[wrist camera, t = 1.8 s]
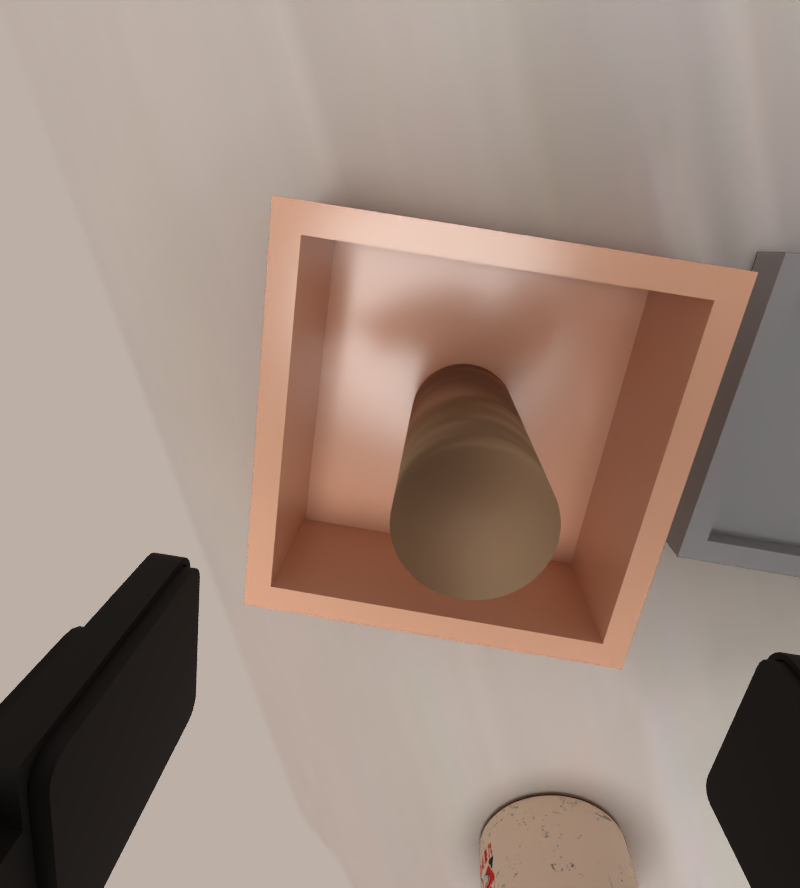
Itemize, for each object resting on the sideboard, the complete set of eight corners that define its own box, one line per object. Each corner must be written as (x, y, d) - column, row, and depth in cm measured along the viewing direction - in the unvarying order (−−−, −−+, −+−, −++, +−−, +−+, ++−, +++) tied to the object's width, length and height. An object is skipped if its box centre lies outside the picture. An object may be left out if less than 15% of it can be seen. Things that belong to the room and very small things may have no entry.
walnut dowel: (523, 372, 25) (579, 463, 14) (501, 468, 26) (538, 612, 16) (420, 356, 25) (403, 433, 14) (404, 452, 26) (378, 585, 16)
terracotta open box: (676, 265, 23) (758, 272, 17) (583, 578, 28) (621, 669, 22) (316, 209, 24) (271, 195, 18) (286, 528, 29) (244, 604, 23)
